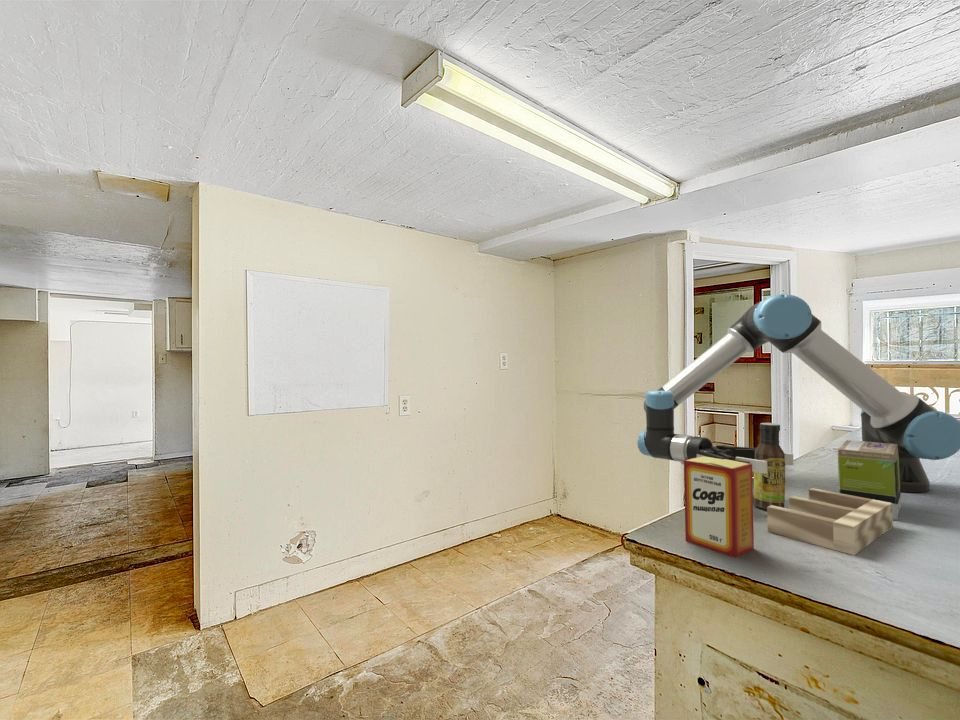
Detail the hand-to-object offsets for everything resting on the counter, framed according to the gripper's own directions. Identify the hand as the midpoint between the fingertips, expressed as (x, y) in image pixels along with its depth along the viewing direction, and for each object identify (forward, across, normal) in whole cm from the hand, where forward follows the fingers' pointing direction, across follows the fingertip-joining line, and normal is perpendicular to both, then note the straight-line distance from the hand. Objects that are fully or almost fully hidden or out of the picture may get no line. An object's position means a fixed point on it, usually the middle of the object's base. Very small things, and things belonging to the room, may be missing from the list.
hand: (780, 463), depth 103 cm
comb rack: (+11, +5, -11) cm, 16 cm away
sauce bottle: (-2, 0, -11) cm, 11 cm away
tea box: (+12, -18, -11) cm, 24 cm away
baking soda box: (+2, +31, -11) cm, 33 cm away
